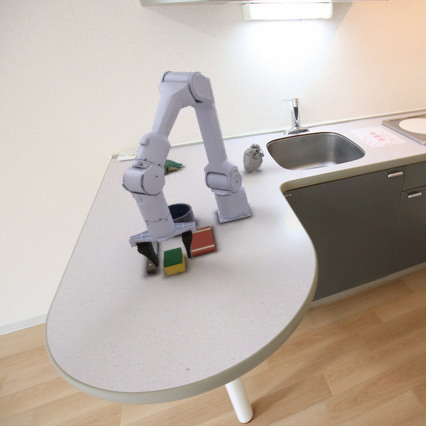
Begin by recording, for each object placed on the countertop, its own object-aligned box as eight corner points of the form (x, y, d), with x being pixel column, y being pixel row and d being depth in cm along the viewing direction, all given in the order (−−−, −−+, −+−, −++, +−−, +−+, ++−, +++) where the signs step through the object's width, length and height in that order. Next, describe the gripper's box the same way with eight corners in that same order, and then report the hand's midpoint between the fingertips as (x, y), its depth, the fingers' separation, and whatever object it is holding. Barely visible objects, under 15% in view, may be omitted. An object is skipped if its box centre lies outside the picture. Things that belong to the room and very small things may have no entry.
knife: (158, 231, 94) (156, 227, 93) (156, 272, 78) (154, 268, 78) (150, 233, 93) (148, 229, 92) (147, 275, 78) (145, 271, 77)
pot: (195, 215, 101) (190, 200, 98) (197, 231, 93) (192, 215, 90) (161, 222, 98) (156, 207, 95) (161, 239, 90) (155, 224, 87)
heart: (252, 162, 135) (245, 137, 127) (270, 165, 131) (264, 140, 123) (239, 175, 129) (229, 149, 121) (257, 178, 125) (249, 153, 117)
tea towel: (210, 227, 94) (210, 225, 94) (215, 250, 85) (214, 248, 85) (190, 232, 93) (189, 230, 92) (192, 256, 83) (191, 254, 83)
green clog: (132, 172, 131) (128, 160, 129) (183, 164, 138) (180, 153, 135) (131, 181, 124) (127, 169, 121) (184, 173, 131) (181, 161, 128)
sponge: (184, 256, 83) (180, 246, 81) (185, 270, 79) (181, 260, 77) (167, 261, 82) (163, 251, 80) (167, 275, 77) (163, 265, 75)
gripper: (119, 232, 66) (141, 278, 74) (190, 216, 71) (204, 261, 78) (123, 216, 72) (143, 260, 79) (189, 202, 76) (202, 245, 84)
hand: (173, 260), depth 79 cm, fingers open, 7 cm apart
